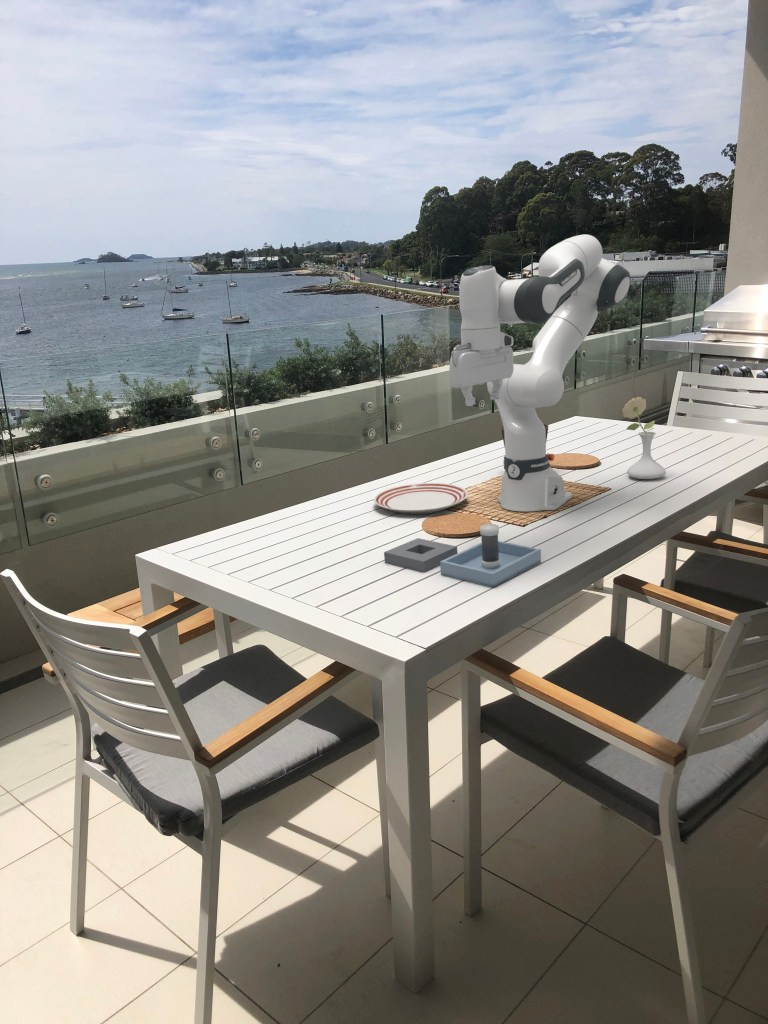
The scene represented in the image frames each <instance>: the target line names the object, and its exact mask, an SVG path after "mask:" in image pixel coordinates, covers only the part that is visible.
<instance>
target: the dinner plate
mask: <svg viewBox="0 0 768 1024" xmlns="http://www.w3.org/2000/svg"><path fill="white" fill-rule="evenodd" d="M468 496H469V492H468V490H467V489H465V488H464V487H461V486H459V485H456V484H451V483H443V482H441V483H439V482H421V483H411V484H405V485H399V486H394V487H391V488H387V489H385V490H383V491H381V492H379V493H378V494H376V495H375V496H374V498H373V501H374V504H376V506H378V507H381V508H383V509H386V510H390V511H394V512H398V513H400V514H401V513H402V514H412V515H413V514H415V515H416V514H429V513H435V512H436V513H437V512H439V511H444V510H446V509H448V508H451V507H454V506H456V505H458V504H460V503H461V502H463V501H465V500H466V498H468Z"/></svg>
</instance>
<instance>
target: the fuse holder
mask: <svg viewBox="0 0 768 1024" xmlns="http://www.w3.org/2000/svg"><path fill="white" fill-rule="evenodd" d="M383 554H384V563H387V564H390V565H394V566H397V567H402V568H406V569H408V570H409V569H410V570H414V571H418V572H421V573H426V572H429V571H430V570H433V569H434V568H436V567H440V561H442V560H445V559H447V558H449V557H451V556H453V555H455V554H458V546H456V545H452V544H447V543H443V542H437V541H433V540H429V539H424V538H419V537H418V538H414V539H411V540H410V541H408V542H405V543H402V544H401V545H398V546H396V547H393V548H391V549H389V550H386V551H383Z"/></svg>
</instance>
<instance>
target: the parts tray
mask: <svg viewBox="0 0 768 1024" xmlns="http://www.w3.org/2000/svg"><path fill="white" fill-rule="evenodd" d="M498 551H499V558H500V566H499V567H498V568H494V569H486V568H483V567H482V563H481V559H482V542H480V543H477V544H475V545H473V546H471V547H469V548H467V549H464V550H462V551H460V552H457V554H455V555H453V556H451V557H449V558H447V559H445V560H442V561H440V565H439V567H440V575H442V576H446V577H450V578H453V579H458V580H462V581H466V582H470V583H474V584H476V585H477V584H478V585H481V586H485V587H489V588H494V589H495V588H496V587H498V586H499V585H502V584H503V583H505V582H506V581H508V580H510V579H513V578H514V577H516V576H518V575H519V574H521V573H523V572H525V571H527V570H529V569H530V568H533V567H534V566H536V565H538V564H540V563H541V562H542V555H541V554H542V552H541V551H542V549H541V548H535V547H531V546H525V545H520V544H515V543H511V542H510V543H509V542H505V541H501V540H498Z"/></svg>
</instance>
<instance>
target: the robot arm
mask: <svg viewBox="0 0 768 1024" xmlns="http://www.w3.org/2000/svg"><path fill="white" fill-rule="evenodd" d="M603 252H604V251H603V247H602V244H601V243H600V241H599V240H598V239H597V238H596V237H595V236H593V235H591V234H579V235H574V236H571V237H569V238H565V239H564V240H561V241H559V242H558V243H556V244H555V245H553V246H551V247H550V248H548V249H547V250H545V252H544V253H543V254H542V255H541V257H540V258H539V262H538V265H537V266H538V269H537V270H538V271H537V272H538V276H534V277H530V278H518V279H517V278H516V279H507V278H505V277H503V276H501V275H500V274H499V273H497V270H496V267H495V265H494V266H493V265H490V264H489V265H478V266H475V267H471V268H468V269H466V270H465V271H463V273H462V274H461V277H460V281H459V294H458V295H459V297H458V298H459V299H458V300H459V311H460V315H461V325H460V343H461V344H457V345H455V346H454V348H453V350H452V351H451V356H450V360H449V368H448V369H449V373H448V376H449V378H448V382H449V385H450V386H451V388H453V389H454V388H455V389H456V388H457V389H461V393H462V395H463V397H464V400H465V406H466V407H473V406H475V405H476V404H477V403H476V397H474V396H473V393H472V391H473V386H476V385H477V386H478V385H482V384H486V386H487V388H486V389H487V391H488V393H489V399H490V400H491V401H495V404H496V406H497V409H498V411H499V416H500V418H501V422H502V426H503V427H504V436H505V447H504V450H505V451H504V452H505V453H504V454H505V455H504V457H503V469H504V472H503V473H502V475H501V483H500V484H501V485H500V496H499V497H498V498H497V502H498V503H500V507H501V508H503V509H505V510H507V511H508V510H509V511H514V512H536V511H537V512H538V511H554V510H555V511H556V510H558V509H559V508H560V507H561V506H562V505H564V504H565V503H566V502H568V501H569V500H571V499H572V498H573V493H572V492H570V491H566V490H565V486H564V484H565V483H564V478H563V476H561V475H560V474H559V473H558V472H556V470H554V469H553V468H551V464H550V461H551V462H553V461H555V458H556V457H555V454H554V453H546V452H547V450H546V449H547V446H546V445H547V441H546V430H545V426H544V424H545V423H543V422H542V420H541V419H540V418H539V416H538V413H537V411H536V409H541V408H548V407H552V406H554V405H556V404H557V403H558V402H560V400H561V398H562V397H563V395H564V390H565V383H564V379H563V374H564V371H565V369H566V367H567V364H569V363H568V362H569V361H570V360H571V358H572V357H573V355H574V354H575V353H576V351H577V350H578V348H579V347H580V346H581V344H582V343H583V342H584V340H585V339H586V337H587V336H588V335H589V333H590V331H591V329H592V328H593V326H594V324H595V322H596V320H597V318H598V314H599V313H604V312H606V311H607V310H608V309H612V308H614V307H616V306H617V305H619V304H620V303H621V302H622V301H623V300H624V299H625V298H626V295H627V294H628V292H629V289H630V286H631V280H632V278H631V274H630V272H629V271H628V269H626V268H625V267H624V266H622V265H620V264H615V263H613V262H612V261H610V260H608V259H605V258H603V254H604V253H603ZM562 302H563V303H562ZM561 303H562V304H561ZM544 323H545V324H544ZM501 324H533V325H534V324H536V325H537V324H538V325H542V324H544V325H543V326H542V327H541V329H540V330H539V331H538V333H537V334H536V335H535V337H534V338H533V339H532V340H533V341H532V349H533V353H532V355H531V358H530V359H529V361H527V362H526V363H524V364H520V363H519V364H518V363H514V361H515V360H514V350H513V348H512V346H513V345H514V337H513V336H512V335H509V334H507V333H504V332H503V331H501Z"/></svg>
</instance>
